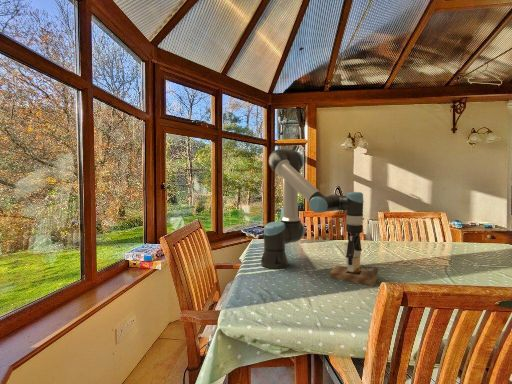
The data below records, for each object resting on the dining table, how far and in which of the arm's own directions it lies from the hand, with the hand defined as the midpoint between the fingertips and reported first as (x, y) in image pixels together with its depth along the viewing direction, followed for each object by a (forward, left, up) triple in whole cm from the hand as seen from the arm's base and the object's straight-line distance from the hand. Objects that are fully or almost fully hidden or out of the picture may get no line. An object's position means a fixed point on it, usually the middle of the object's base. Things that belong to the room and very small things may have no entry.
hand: (353, 267), depth 140 cm
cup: (-5, +19, -5) cm, 20 cm away
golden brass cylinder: (0, 0, -5) cm, 5 cm away
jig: (0, 0, -5) cm, 5 cm away
